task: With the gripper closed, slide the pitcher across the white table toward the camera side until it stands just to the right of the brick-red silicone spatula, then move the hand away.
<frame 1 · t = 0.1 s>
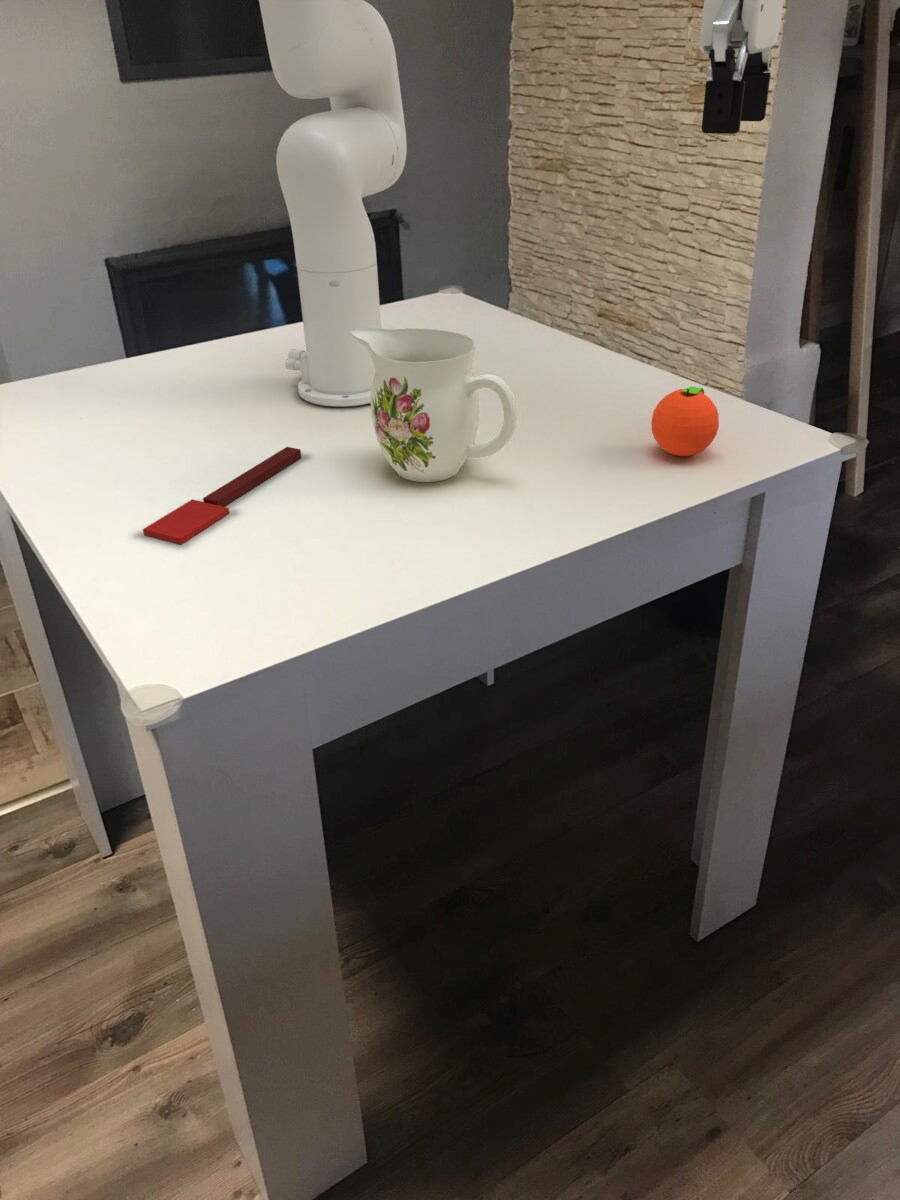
hand: (734, 126, 87), 31 cm above the table, tool pointing down, fingers open, 9 cm apart
pitcher: (436, 472, 101), on the table
spatula: (230, 496, 97), on the table
clementine: (683, 453, 103), on the table
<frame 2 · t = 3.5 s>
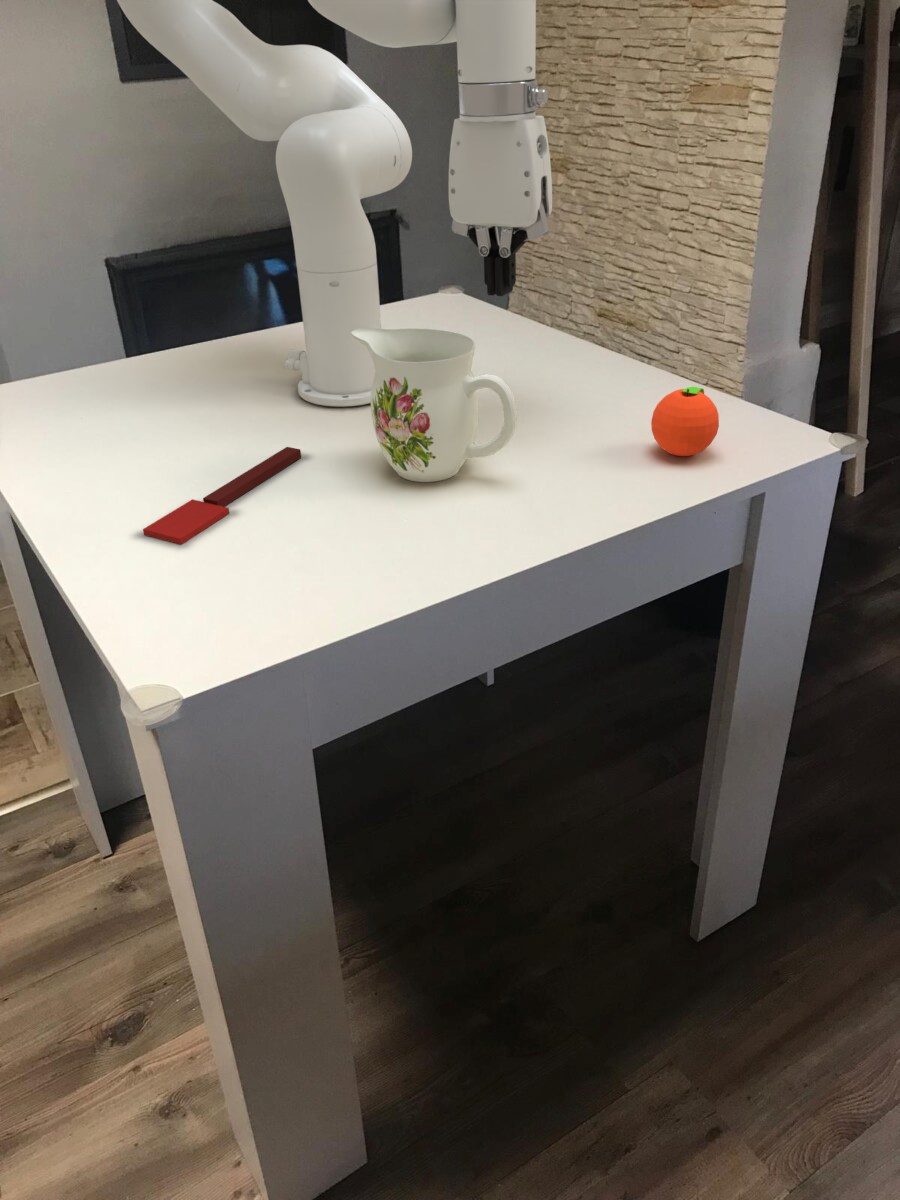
hand: (500, 292, 104), 15 cm above the table, tool pointing down, fingers closed
nothing on the table moved.
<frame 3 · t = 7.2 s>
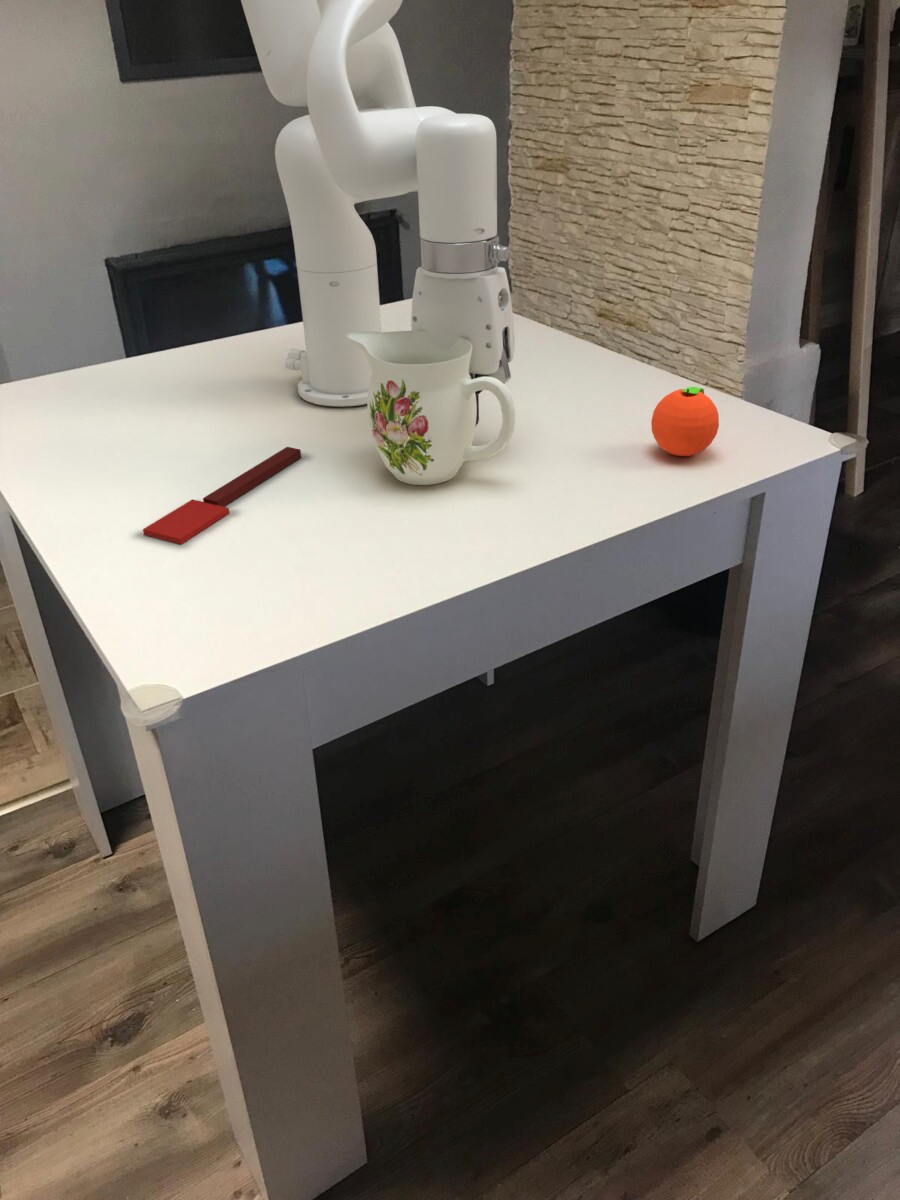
hand: (463, 430, 104), 2 cm above the table, tool pointing down, fingers closed
pitcher: (433, 475, 100), on the table, touching gripper
everything else where it was.
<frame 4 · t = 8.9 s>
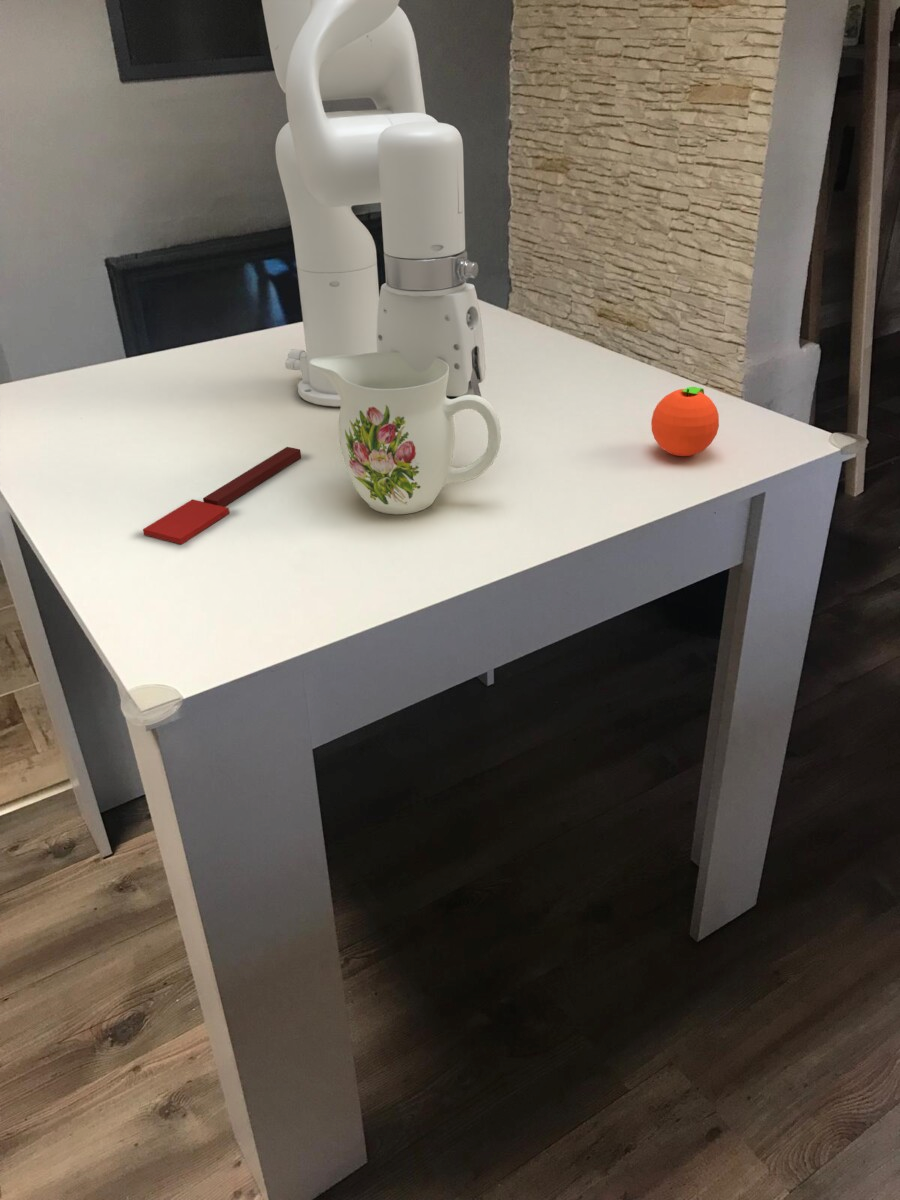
hand: (433, 453, 99), 2 cm above the table, tool pointing down, fingers closed
pitcher: (410, 501, 95), on the table, touching gripper
everything else where it was.
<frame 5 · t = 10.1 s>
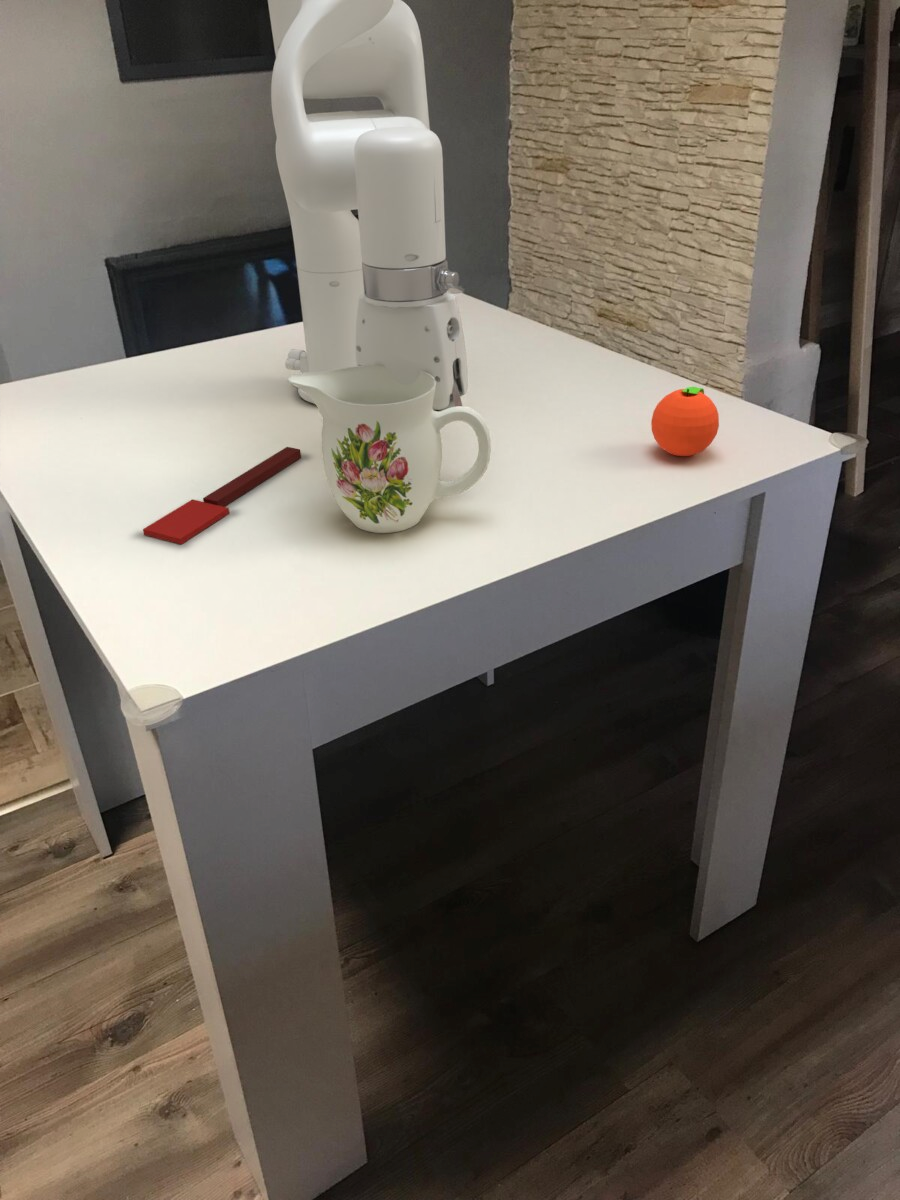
hand: (415, 467, 96), 2 cm above the table, tool pointing down, fingers closed
pitcher: (397, 519, 92), on the table, touching gripper
everything else where it was.
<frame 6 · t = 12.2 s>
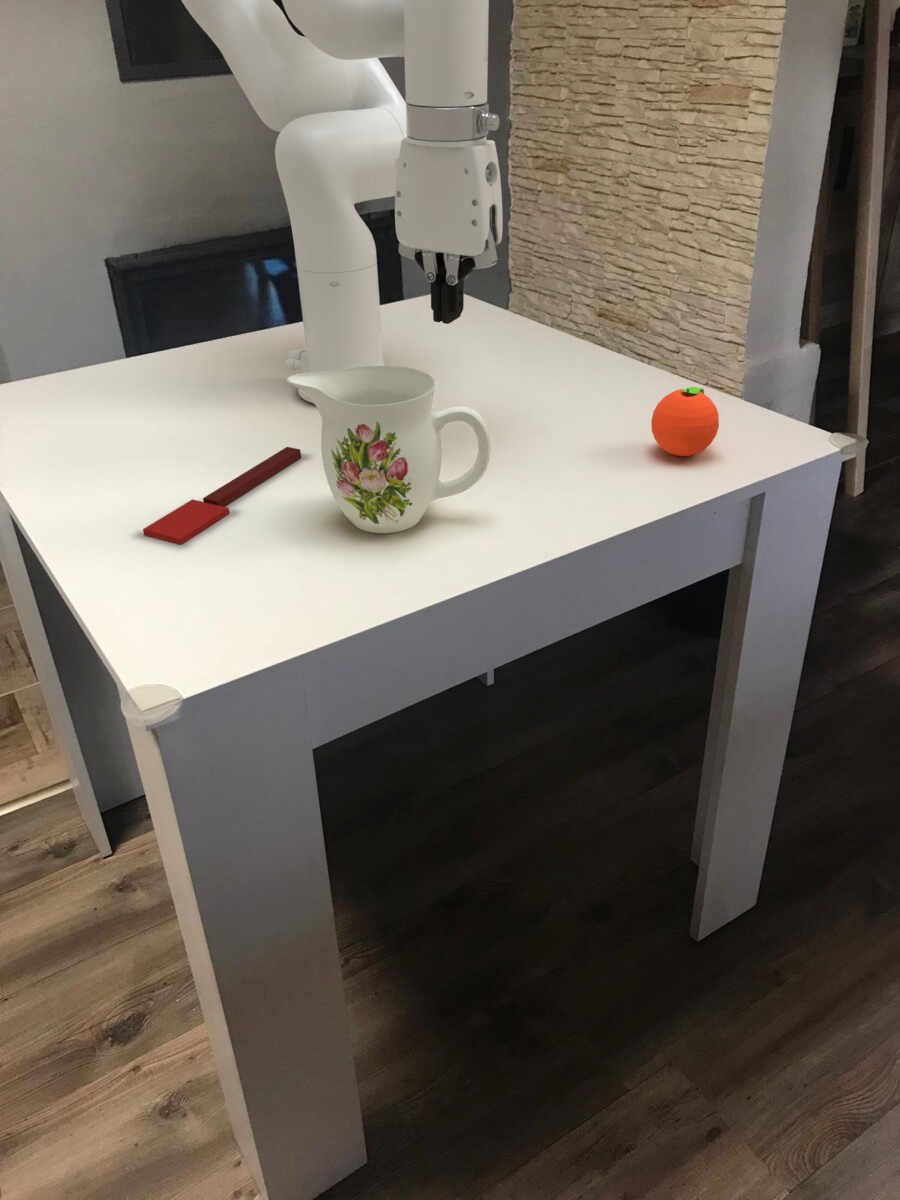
hand: (447, 318, 100), 14 cm above the table, tool pointing down, fingers closed
pitcher: (397, 519, 92), on the table
everything else where it was.
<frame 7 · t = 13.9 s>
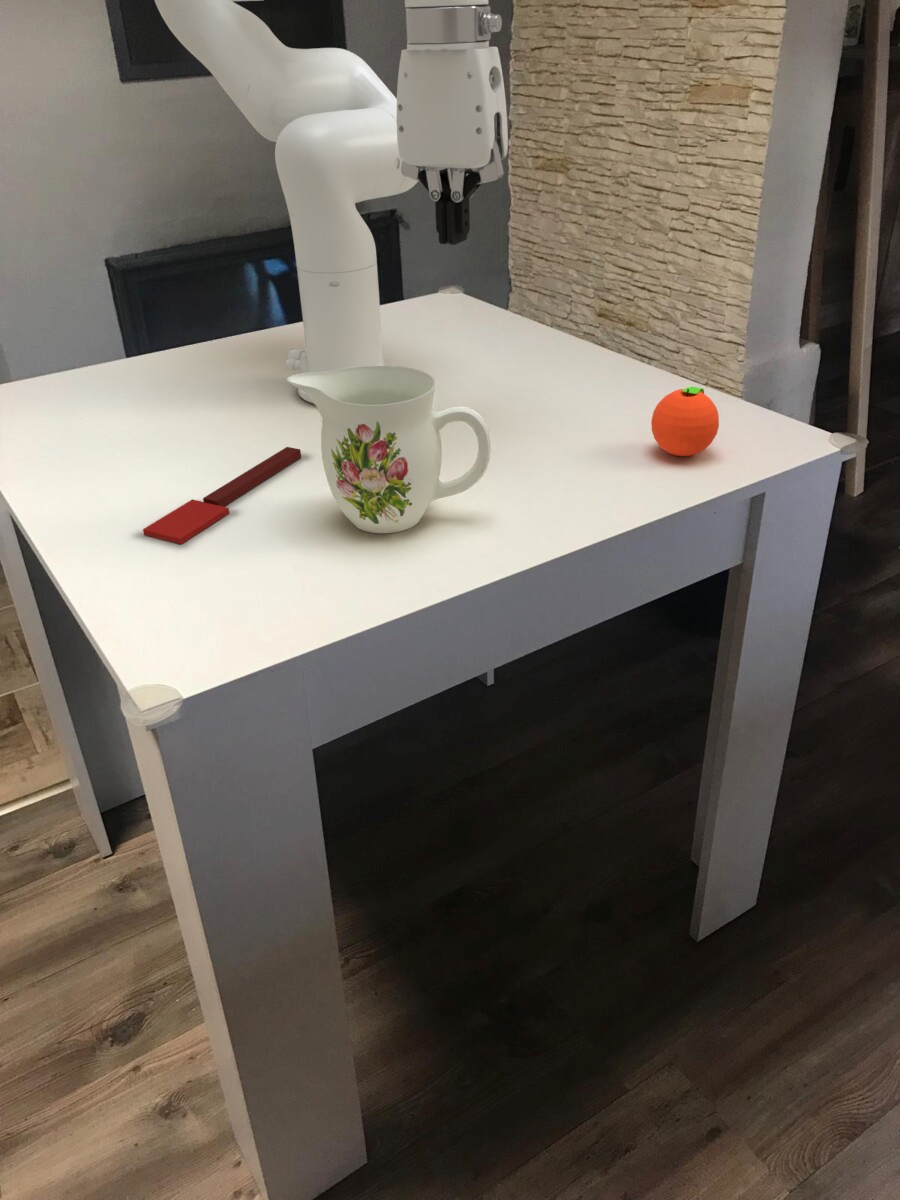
hand: (453, 241, 97), 21 cm above the table, tool pointing down, fingers closed
nothing on the table moved.
at the end: pitcher inside the target area (3.4 cm from its centre), on the table; pitcher 18.0 cm from the spatula (horizontally); pitcher tilted 0° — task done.
